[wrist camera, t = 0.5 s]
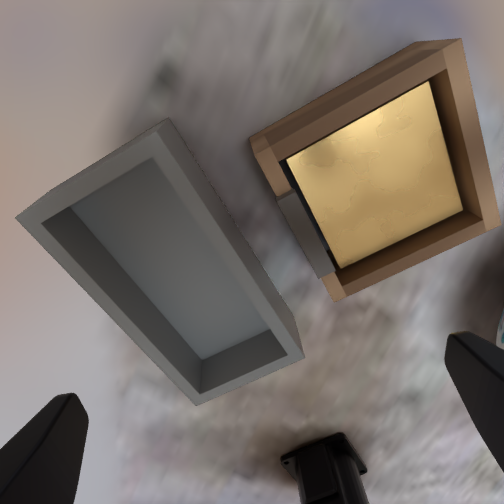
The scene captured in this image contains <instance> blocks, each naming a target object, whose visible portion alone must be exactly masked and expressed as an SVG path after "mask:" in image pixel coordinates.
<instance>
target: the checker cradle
mask: <svg viewBox="0 0 504 504" xmlns="http://www.w3.org/2000/svg"><path fill="white" fill-rule="evenodd" d="M423 81H429V85H430V89H431V92H432V96H433V100H434V104H435V107H436V111H437V115H438V118H439V122H440V126H441V130H442V133H443V137H444V141H445V145H446V148H447V152H448V156H449V159H450V163H451V167H452V171H453V174H454V178H455V182H456V186H457V189H458V193H459V197H460V200H461V204H462V208H463V210H462V211H460V212H458V213H456V214H454V215H452V216H450V217H448V218H445V219H443V220H441V221H439V222H437V223H435V224H433V225H431V226H429V227H427V228H425V229H423V230H420V231H418V232H416V233H414V234H412V235H410V236H408V237H406V238H404V239H402V240H400V241H398V242H396V243H393V244H391V245H389V246H387V247H385V248H383V249H381V250H379V251H377V252H375V253H373V254H371V255H369V256H366V257H364V258H362V259H360V260H358V261H356V262H354V263H352V264H350V265H348V266H346V267H344V268H341V269H340V267H339V265H338V263H337V261H336V259H335V257H334V255H333V253H332V251H331V249H330V250H328V251H326V250H325V248H324V246H323V244H322V242H321V241H320V239H319V237H318V235H317V233H316V231H315V229H314V227H313V225H312V223H311V221H310V219H309V217H308V215H307V213H306V211H305V209H304V207H303V205H302V203H301V201H300V199H299V197H298V195H297V193H296V191H295V190H294V188H293V189H292V188H291V186H290V185H289V183H288V181H287V179H286V177H285V175H284V173H283V171H282V169H281V167H280V165H279V163H278V162H279V161H281V160H282V159H284V158H286V157H288V156H290V155H291V154H293V153H295V152H297V151H299V150H300V149H302V148H304V147H306V146H308V145H309V144H311V143H313V142H315V141H317V140H318V139H320V138H322V137H324V136H326V135H327V134H329V133H331V132H333V131H335V130H336V129H338V128H340V127H342V126H344V125H345V124H347V123H349V122H351V121H353V120H354V119H356V118H358V117H360V116H362V115H363V114H365V113H367V112H369V111H371V110H372V109H374V108H376V107H378V106H380V105H381V104H383V103H385V102H387V101H389V100H390V99H392V98H394V97H396V96H398V95H400V94H401V93H403V92H405V91H407V90H409V89H410V88H412V87H414V86H416V85H418V84H419V83H421V82H423ZM249 140H250V143H251V146H252V149H253V153H254V156H255V157H256V159H257V161H258V163H259V165H260V167H261V168H262V170H263V172H264V174H265V176H266V178H267V180H268V181H269V183H270V185H271V187H272V189H273V191H274V193H275V194H276V196H277V197H276V198H275V199H276V202H277V204H278V205H279V207H280V209H281V211H282V213H283V215H284V216H285V218H286V220H287V222H288V224H289V226H290V227H291V229H292V231H293V233H294V235H295V237H296V238H297V240H298V242H299V244H300V246H301V248H302V249H303V251H304V253H305V255H306V257H307V259H308V260H309V262H310V264H311V266H312V268H313V270H314V271H315V273H316V275H317V277H318V279H320V278H321V279H322V281H323V283H324V285H325V287H326V289H327V291H328V292H329V294H330V296H331V298H332V300H333V302H337V301H339V300H341V299H343V298H345V297H347V296H349V295H352V294H354V293H356V292H358V291H360V290H362V289H365V288H367V287H369V286H371V285H373V284H375V283H377V282H380V281H382V280H384V279H386V278H388V277H390V276H392V275H395V274H397V273H399V272H401V271H403V270H405V269H408V268H410V267H412V266H414V265H416V264H418V263H420V262H423V261H425V260H427V259H429V258H431V257H433V256H436V255H438V254H440V253H442V252H444V251H446V250H448V249H451V248H453V247H455V246H457V245H459V244H461V243H463V242H466V241H468V240H470V239H472V238H474V237H476V236H479V235H481V234H483V233H485V232H487V231H489V230H491V229H494V228H496V227H498V226H500V225H501V221H500V216H499V211H498V207H497V202H496V197H495V193H494V188H493V183H492V179H491V174H490V169H489V165H488V160H487V155H486V151H485V146H484V141H483V137H482V132H481V127H480V123H479V118H478V113H477V109H476V104H475V99H474V95H473V90H472V85H471V81H470V76H469V71H468V67H467V62H466V58H465V53H464V48H463V44H462V39H461V38H458V39H445V40H433V41H420V42H414V43H413V44H411V45H409V46H407V47H406V48H404V49H402V50H401V51H399V52H397V53H395V54H394V55H392V56H390V57H388V58H387V59H385V60H383V61H381V62H380V63H378V64H376V65H375V66H373V67H371V68H369V69H368V70H366V71H364V72H362V73H361V74H359V75H357V76H355V77H354V78H352V79H350V80H349V81H347V82H345V83H343V84H342V85H340V86H338V87H336V88H335V89H333V90H331V91H329V92H328V93H326V94H324V95H323V96H321V97H319V98H317V99H316V100H314V101H312V102H310V103H309V104H307V105H305V106H303V107H302V108H300V109H298V110H296V111H295V112H293V113H291V114H290V115H288V116H286V117H284V118H283V119H281V120H279V121H277V122H276V123H274V124H272V125H270V126H269V127H267V128H265V129H264V130H262V131H260V132H258V133H257V134H255V135H253V136H251V137H250V138H249Z"/></svg>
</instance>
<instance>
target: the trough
mask: <svg viewBox="0 0 504 504" xmlns="http://www.w3.org/2000/svg"><path fill="white" fill-rule="evenodd" d="M15 218H16V219H17V221H18V222H20V224H21V225H22V226H23V227H24V228H25V229H26V230H27V231H28V232H29V233H30V234H31V235H32V236H33V237H34V238H35V239H36V240H37V241H38V242H39V243H40V244H41V245H42V246H43V248H44V249H45V250H46V251H47V252H48V253H49V254H50V255H51V256H52V257H53V258H54V259H55V260H56V261H57V262H58V263H59V264H60V265H61V266H62V267H63V268H64V269H65V270H66V271H67V272H68V273H69V275H70V276H71V277H72V278H73V279H74V280H75V281H76V282H77V283H78V284H79V285H80V286H81V287H82V288H83V289H84V290H85V291H86V292H87V293H88V294H89V295H90V296H91V297H92V299H93V300H94V301H95V302H96V303H97V304H98V305H99V306H100V307H101V308H102V309H103V310H104V311H105V312H106V313H107V314H108V315H109V316H110V317H111V318H112V319H113V320H114V321H115V322H116V323H117V325H118V326H119V327H120V328H121V329H122V330H123V331H124V332H125V333H126V334H127V335H128V336H129V337H130V338H131V339H132V340H133V341H134V342H135V343H136V344H137V345H138V346H139V347H140V348H141V349H142V350H143V352H144V353H145V354H146V355H147V356H148V357H149V358H150V359H151V360H152V361H153V362H154V363H155V364H156V365H157V366H158V367H159V368H160V369H161V370H162V371H163V372H164V373H165V374H166V375H167V376H168V378H169V379H170V380H171V381H172V382H173V383H174V384H175V385H176V386H177V387H178V388H179V389H180V390H181V391H182V392H183V393H184V394H185V395H186V396H187V397H188V398H189V399H190V400H191V401H192V402H193V404H194V405H195V406H198V405H200V404H202V403H205V402H207V401H209V400H211V399H214V398H216V397H218V396H220V395H223V394H225V393H227V392H229V391H232V390H234V389H236V388H238V387H241V386H243V385H245V384H248V383H250V382H252V381H254V380H257V379H259V378H261V377H263V376H266V375H268V374H270V373H272V372H275V371H277V370H279V369H281V368H284V367H286V366H288V365H290V364H293V363H295V362H297V361H299V360H302V359H304V358H305V356H304V352H303V348H302V344H301V341H300V337H299V333H298V330H297V326H296V322H295V319H294V316H293V315H292V313H291V312H290V310H289V308H288V307H287V305H286V304H285V302H284V300H283V299H282V297H281V296H280V294H279V293H278V291H277V289H276V288H275V286H274V285H273V283H272V281H271V280H270V278H269V277H268V275H267V273H266V272H265V270H264V269H263V267H262V265H261V264H260V262H259V261H258V259H257V257H256V256H255V254H254V253H253V251H252V250H251V248H250V246H249V245H248V243H247V242H246V240H245V238H244V237H243V235H242V234H241V232H240V230H239V229H238V227H237V226H236V224H235V222H234V221H233V219H232V218H231V216H230V214H229V213H228V211H227V210H226V208H225V207H224V205H223V203H222V202H221V200H220V199H219V197H218V195H217V194H216V192H215V191H214V189H213V187H212V186H211V184H210V183H209V181H208V179H207V178H206V176H205V175H204V173H203V171H202V170H201V168H200V167H199V165H198V164H197V162H196V160H195V159H194V157H193V156H192V154H191V152H190V151H189V149H188V148H187V146H186V144H185V143H184V141H183V140H182V138H181V136H180V135H179V133H178V132H177V130H176V129H175V127H174V125H173V124H172V122H171V121H170V119H169V118H167V119H165V120H164V121H162V122H160V123H159V124H157V125H156V126H154V127H152V128H151V129H149V130H147V131H146V132H144V133H143V134H141V135H139V136H138V137H136V138H134V139H133V140H131V141H130V142H128V143H126V144H125V145H123V146H121V147H120V148H118V149H117V150H115V151H113V152H112V153H110V154H108V155H107V156H105V157H104V158H102V159H100V160H99V161H97V162H95V163H94V164H92V165H91V166H89V167H87V168H86V169H84V170H82V171H81V172H79V173H78V174H76V175H74V176H73V177H71V178H69V179H68V180H66V181H65V182H63V183H61V184H60V185H58V186H57V187H55V188H53V189H51V190H50V191H49V192H47V193H46V194H45V195H44V196H42V197H41V198H40V199H38V200H37V201H36V202H34V203H33V204H32V205H31V206H29V207H28V208H27V209H25V210H24V211H23V212H22V213H20V214H19V215H18V216H16V217H15Z"/></svg>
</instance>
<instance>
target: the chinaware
mask: <svg viewBox="0 0 504 504" xmlns="http://www.w3.org/2000/svg"><path fill="white" fill-rule="evenodd" d="M496 346H498V347H500V348H502V349H504V310H503V313H502V315H501V318H500V322H499V326H498V331H497V340H496Z"/></svg>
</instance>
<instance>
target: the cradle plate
mask: <svg viewBox="0 0 504 504" xmlns="http://www.w3.org/2000/svg"><path fill="white" fill-rule="evenodd" d="M285 160H286V162H287V164H288V166H289V168H290V170H291V172H292V174H293V176H294V178H295V180H296V182H297V184H298V186H299V188H300V190H301V192H302V194H303V196H304V198H305V199H306V201H307V203H308V205H309V207H310V209H311V211H312V213H313V215H314V217H315V219H316V221H317V223H318V225H319V227H320V229H321V231H322V233H323V235H324V237H325V239H326V241H327V243H328V245H329V247H330V249H331V251H332V253H333V255H334V257H335V259H336V261H337V263H338V265H339V267H340V269H341V268H344V267H346V266H348V265H350V264H352V263H354V262H356V261H358V260H360V259H362V258H364V257H366V256H369V255H371V254H373V253H375V252H377V251H379V250H381V249H383V248H385V247H387V246H389V245H391V244H393V243H396V242H398V241H400V240H402V239H404V238H406V237H408V236H410V235H412V234H414V233H416V232H418V231H420V230H423V229H425V228H427V227H429V226H431V225H433V224H435V223H437V222H439V221H441V220H443V219H445V218H448V217H450V216H452V215H454V214H456V213H458V212H460V211H462V210H463V208H462V204H461V200H460V197H459V193H458V189H457V186H456V182H455V178H454V174H453V171H452V167H451V163H450V159H449V156H448V152H447V148H446V145H445V141H444V137H443V133H442V130H441V126H440V122H439V118H438V115H437V111H436V107H435V104H434V100H433V96H432V92H431V89H430V85H429V81H423V82H421V83H419V84H418V85H416V86H414V87H412V88H410V89H409V90H407V91H405V92H403V93H401V94H400V95H398V96H396V97H394V98H392V99H390V100H389V101H387V102H385V103H383V104H381V105H380V106H378V107H376V108H374V109H372V110H371V111H369V112H367V113H365V114H363V115H362V116H360V117H358V118H356V119H354V120H353V121H351V122H349V123H347V124H345V125H344V126H342V127H340V128H338V129H336V130H335V131H333V132H331V133H329V134H327V135H326V136H324V137H322V138H320V139H318V140H317V141H315V142H313V143H311V144H309V145H308V146H306V147H304V148H302V149H300V150H299V151H297V152H295V153H293V154H291V155H290V156H288V157H286V158H285Z"/></svg>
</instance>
